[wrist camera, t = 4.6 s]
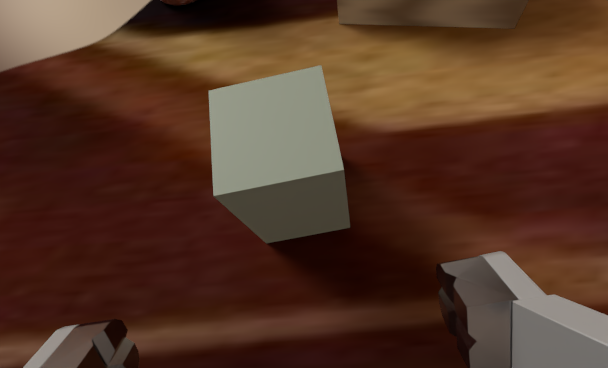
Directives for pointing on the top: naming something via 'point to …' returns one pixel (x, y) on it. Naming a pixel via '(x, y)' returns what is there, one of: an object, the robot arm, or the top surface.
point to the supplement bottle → (178, 2)
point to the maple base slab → (432, 12)
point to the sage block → (278, 156)
